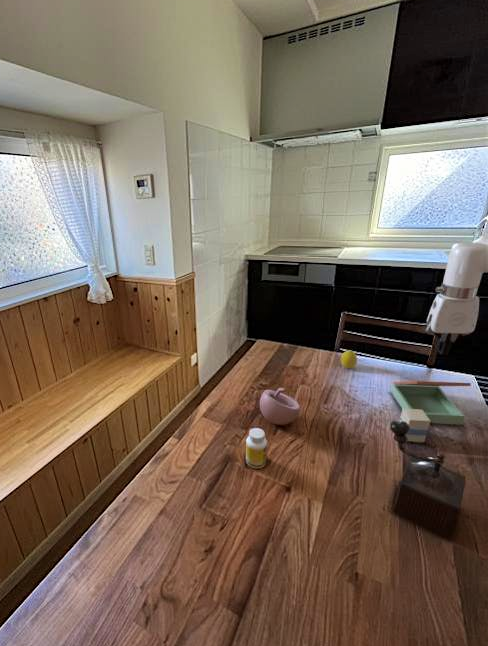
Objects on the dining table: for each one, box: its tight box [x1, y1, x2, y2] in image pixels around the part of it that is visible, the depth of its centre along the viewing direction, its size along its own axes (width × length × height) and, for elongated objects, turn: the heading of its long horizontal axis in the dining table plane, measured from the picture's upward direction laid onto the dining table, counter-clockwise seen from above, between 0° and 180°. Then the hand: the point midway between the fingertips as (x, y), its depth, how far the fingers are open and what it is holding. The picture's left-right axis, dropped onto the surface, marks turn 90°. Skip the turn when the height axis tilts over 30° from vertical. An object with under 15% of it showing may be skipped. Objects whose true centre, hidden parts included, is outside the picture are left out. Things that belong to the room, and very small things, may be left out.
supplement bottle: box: [245, 427, 268, 469], centre depth 89 cm, size 5×5×10 cm
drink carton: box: [399, 408, 431, 443], centre depth 94 cm, size 5×5×8 cm
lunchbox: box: [391, 384, 466, 426], centre depth 105 cm, size 16×14×4 cm
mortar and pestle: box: [259, 387, 301, 426], centre depth 103 cm, size 12×12×11 cm
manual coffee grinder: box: [389, 419, 466, 540], centre depth 73 cm, size 16×11×18 cm
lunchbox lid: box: [393, 380, 472, 387], centre depth 103 cm, size 16×14×1 cm
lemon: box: [340, 349, 358, 370], centre depth 129 cm, size 6×6×8 cm
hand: (441, 352), depth 96 cm, fingers closed
